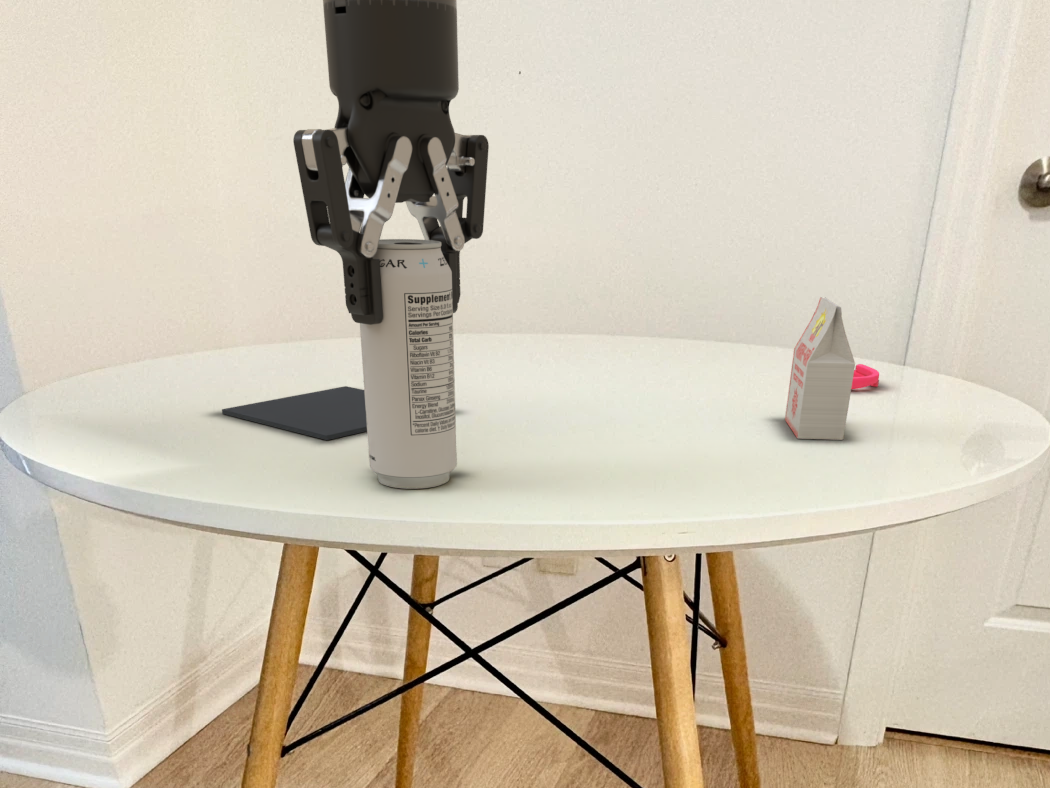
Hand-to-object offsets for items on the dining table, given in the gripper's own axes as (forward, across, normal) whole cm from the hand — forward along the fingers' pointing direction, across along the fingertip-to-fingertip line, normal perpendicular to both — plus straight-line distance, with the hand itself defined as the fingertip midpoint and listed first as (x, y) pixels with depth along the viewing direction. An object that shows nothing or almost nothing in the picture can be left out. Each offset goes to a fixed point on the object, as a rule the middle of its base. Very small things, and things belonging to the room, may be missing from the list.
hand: (406, 316), depth 65 cm
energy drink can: (+11, 0, 0) cm, 11 cm away
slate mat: (+11, -10, -20) cm, 25 cm away
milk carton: (+11, -33, +14) cm, 37 cm away
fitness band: (+11, -54, +7) cm, 56 cm away
